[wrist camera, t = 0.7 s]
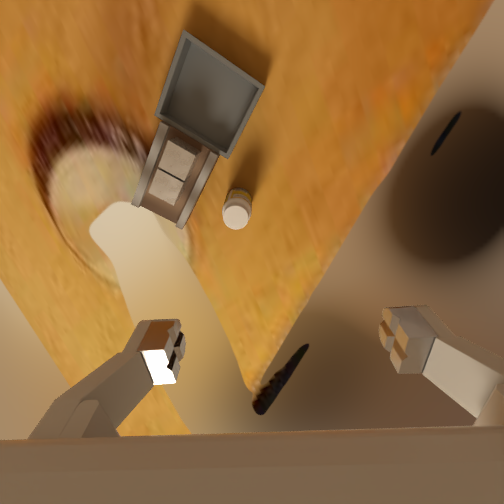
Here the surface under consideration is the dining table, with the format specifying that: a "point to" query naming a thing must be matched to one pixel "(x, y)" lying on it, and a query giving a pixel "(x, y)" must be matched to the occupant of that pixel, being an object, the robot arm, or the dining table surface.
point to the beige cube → (179, 158)
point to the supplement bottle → (237, 208)
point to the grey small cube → (167, 186)
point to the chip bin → (207, 96)
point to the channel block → (192, 188)
